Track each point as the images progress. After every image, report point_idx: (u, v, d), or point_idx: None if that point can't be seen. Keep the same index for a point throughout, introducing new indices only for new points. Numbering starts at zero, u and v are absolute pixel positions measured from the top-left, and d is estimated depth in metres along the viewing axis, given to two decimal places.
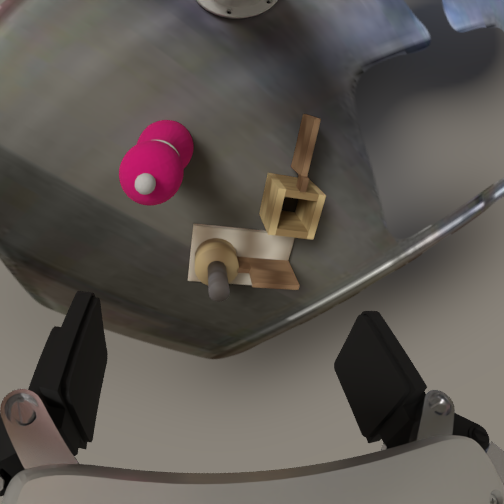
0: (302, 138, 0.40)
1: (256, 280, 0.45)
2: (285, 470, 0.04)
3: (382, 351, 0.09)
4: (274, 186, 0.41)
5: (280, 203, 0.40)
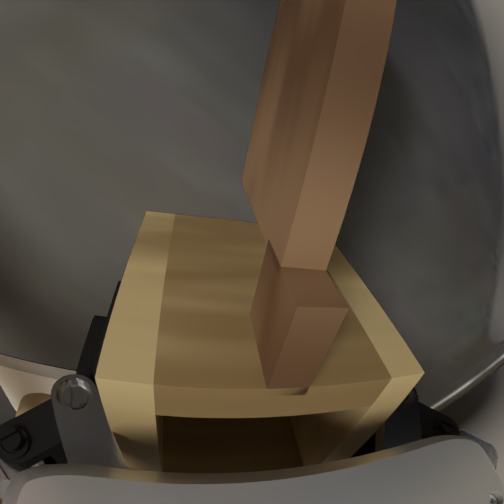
0: (293, 18, 0.05)
1: None
2: (285, 470, 0.04)
3: None
4: None
5: (142, 436, 0.05)
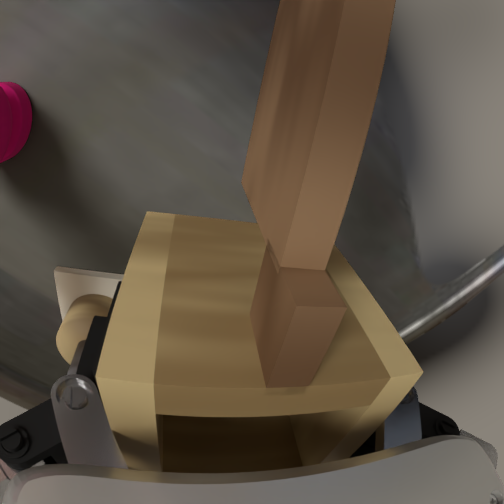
0: (292, 19, 0.05)
1: None
2: (285, 470, 0.04)
3: None
4: None
5: (143, 435, 0.05)
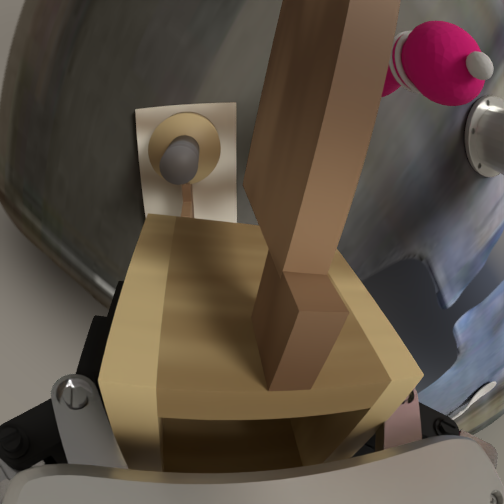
0: (295, 22, 0.05)
1: None
2: (285, 470, 0.04)
3: None
4: None
5: (144, 437, 0.05)
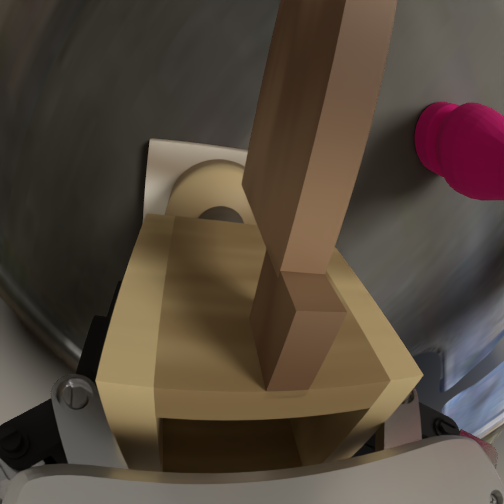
0: (292, 21, 0.05)
1: None
2: (285, 470, 0.04)
3: None
4: None
5: (143, 437, 0.05)
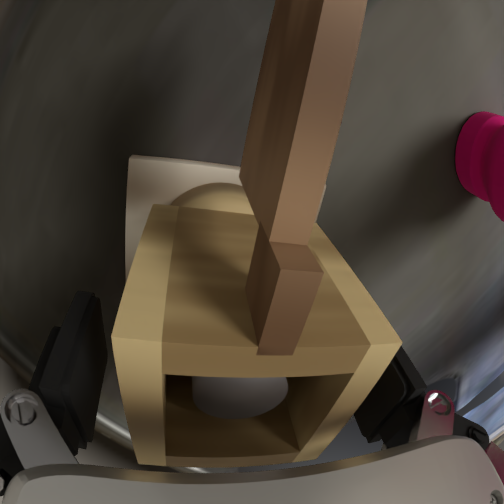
0: (281, 32, 0.06)
1: None
2: (285, 470, 0.04)
3: None
4: None
5: (149, 397, 0.07)
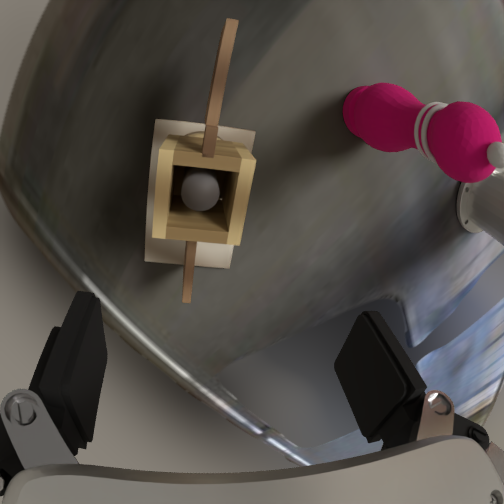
0: (215, 65, 0.20)
1: None
2: (285, 470, 0.04)
3: (382, 351, 0.09)
4: None
5: (166, 178, 0.20)
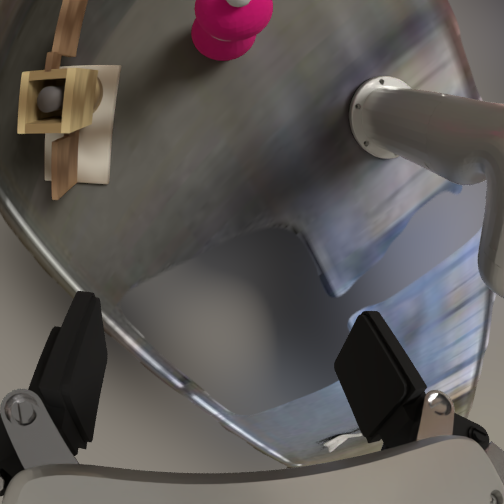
0: None
1: (59, 145, 0.29)
2: (285, 470, 0.04)
3: (382, 351, 0.09)
4: None
5: (25, 90, 0.22)
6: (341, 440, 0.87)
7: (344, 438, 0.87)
